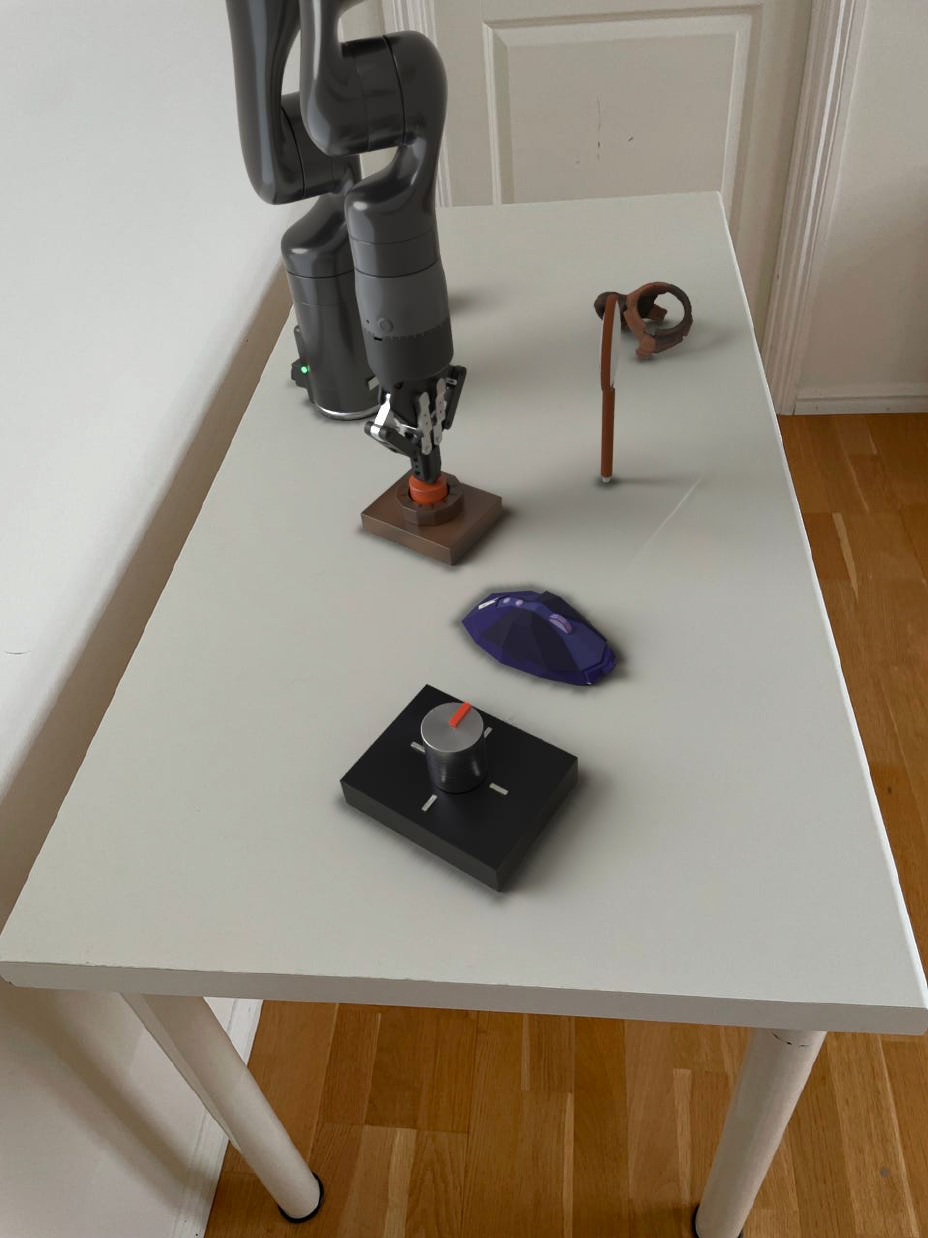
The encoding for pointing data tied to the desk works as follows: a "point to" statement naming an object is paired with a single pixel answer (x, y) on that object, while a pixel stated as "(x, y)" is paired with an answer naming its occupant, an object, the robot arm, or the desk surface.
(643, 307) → the brown ring sculpture
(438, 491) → the button
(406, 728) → the panel
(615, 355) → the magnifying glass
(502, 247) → the desk surface
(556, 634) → the computer mouse
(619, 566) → the desk surface
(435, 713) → the hob knob
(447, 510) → the block
